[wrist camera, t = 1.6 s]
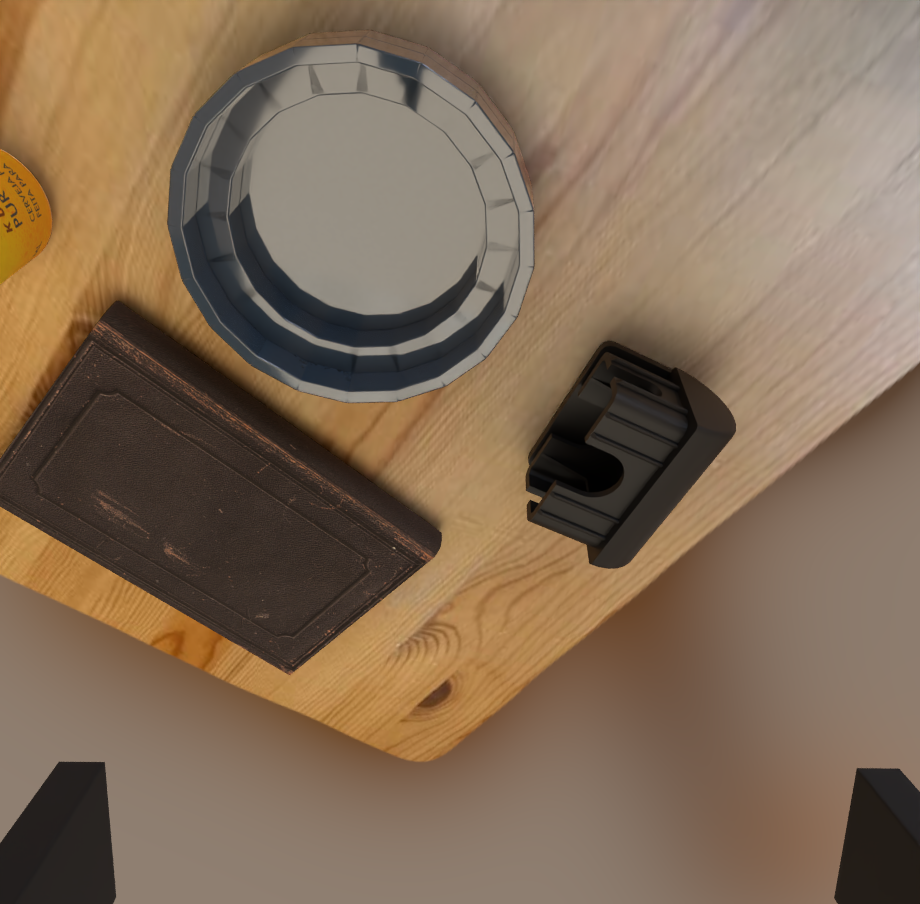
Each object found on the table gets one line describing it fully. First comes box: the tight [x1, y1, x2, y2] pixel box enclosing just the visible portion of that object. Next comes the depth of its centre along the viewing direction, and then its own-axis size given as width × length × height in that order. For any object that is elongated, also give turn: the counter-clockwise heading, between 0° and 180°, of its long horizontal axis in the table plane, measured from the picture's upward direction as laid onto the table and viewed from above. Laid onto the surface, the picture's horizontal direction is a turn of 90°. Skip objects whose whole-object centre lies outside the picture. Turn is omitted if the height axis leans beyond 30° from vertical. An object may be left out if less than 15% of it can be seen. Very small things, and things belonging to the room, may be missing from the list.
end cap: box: [526, 341, 736, 569], centre depth 44 cm, size 10×7×7 cm
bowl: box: [167, 30, 535, 403], centre depth 39 cm, size 16×16×4 cm
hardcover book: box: [0, 301, 442, 675], centre depth 50 cm, size 16×23×2 cm
